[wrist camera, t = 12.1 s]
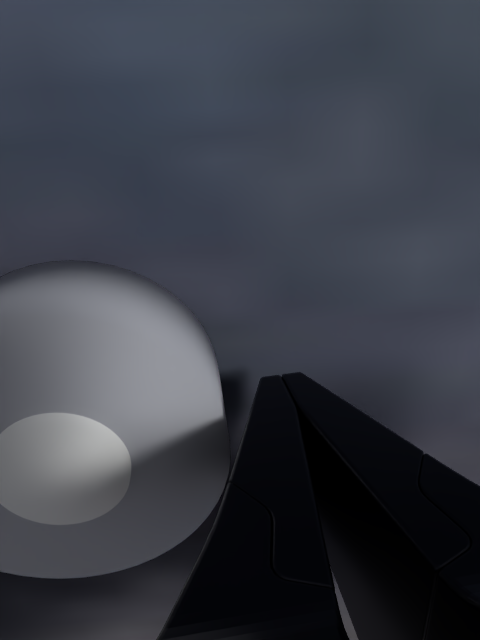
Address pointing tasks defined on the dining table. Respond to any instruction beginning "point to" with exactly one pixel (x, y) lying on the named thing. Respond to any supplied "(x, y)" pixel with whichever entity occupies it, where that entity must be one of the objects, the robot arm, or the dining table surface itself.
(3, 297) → the wheel
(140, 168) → the dining table surface
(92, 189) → the dining table surface
